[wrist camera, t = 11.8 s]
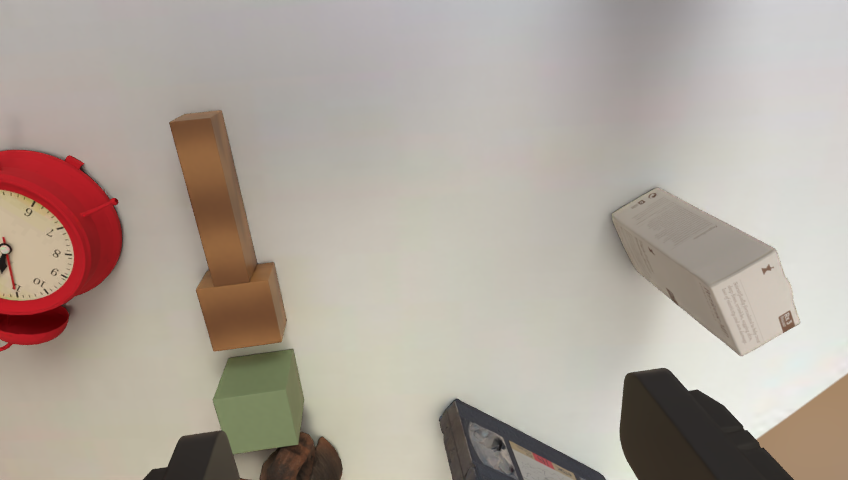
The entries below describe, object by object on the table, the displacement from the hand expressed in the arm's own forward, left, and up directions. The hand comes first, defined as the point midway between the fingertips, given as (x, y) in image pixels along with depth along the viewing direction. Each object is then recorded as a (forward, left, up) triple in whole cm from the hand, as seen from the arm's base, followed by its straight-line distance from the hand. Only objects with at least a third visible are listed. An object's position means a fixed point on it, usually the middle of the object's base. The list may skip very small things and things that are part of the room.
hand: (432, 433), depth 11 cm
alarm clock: (+4, -24, -28) cm, 37 cm away
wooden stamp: (+4, -11, -28) cm, 30 cm away
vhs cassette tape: (+29, +10, -28) cm, 42 cm away
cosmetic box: (+9, +20, -28) cm, 36 cm away
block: (+18, -11, -28) cm, 35 cm away
